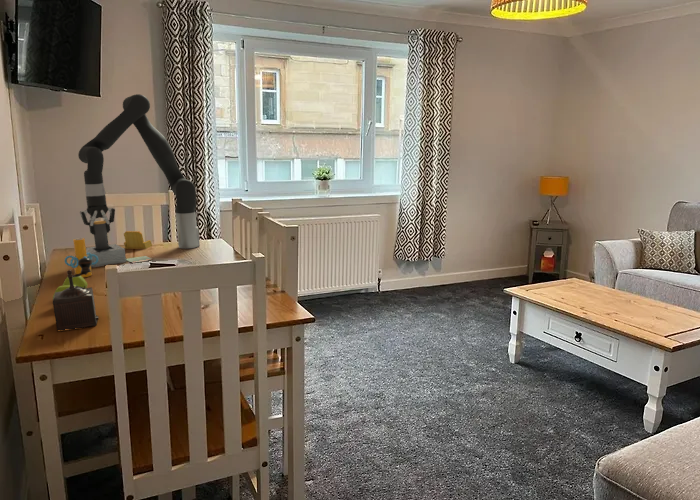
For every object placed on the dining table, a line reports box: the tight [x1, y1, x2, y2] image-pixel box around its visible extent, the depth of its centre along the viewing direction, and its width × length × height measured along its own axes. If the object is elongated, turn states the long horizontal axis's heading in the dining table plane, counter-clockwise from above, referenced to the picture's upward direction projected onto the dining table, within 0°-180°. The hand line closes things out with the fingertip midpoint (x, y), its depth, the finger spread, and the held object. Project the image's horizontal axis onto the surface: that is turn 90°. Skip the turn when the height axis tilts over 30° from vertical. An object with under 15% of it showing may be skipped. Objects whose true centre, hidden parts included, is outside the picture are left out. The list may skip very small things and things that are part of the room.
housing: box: [86, 243, 127, 269], centre depth 229 cm, size 14×14×6 cm
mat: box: [126, 255, 152, 263], centre depth 232 cm, size 9×9×1 cm
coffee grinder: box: [52, 258, 100, 331], centre depth 156 cm, size 16×11×18 cm
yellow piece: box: [123, 230, 153, 250], centre depth 257 cm, size 10×10×9 cm
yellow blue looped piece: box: [64, 237, 98, 279], centre depth 206 cm, size 12×10×15 cm
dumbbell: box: [52, 276, 88, 299], centre depth 177 cm, size 16×8×7 cm, turn 15°
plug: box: [93, 220, 110, 250], centre depth 227 cm, size 5×5×12 cm
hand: (100, 233), depth 227 cm, fingers closed on plug, 5 cm apart
